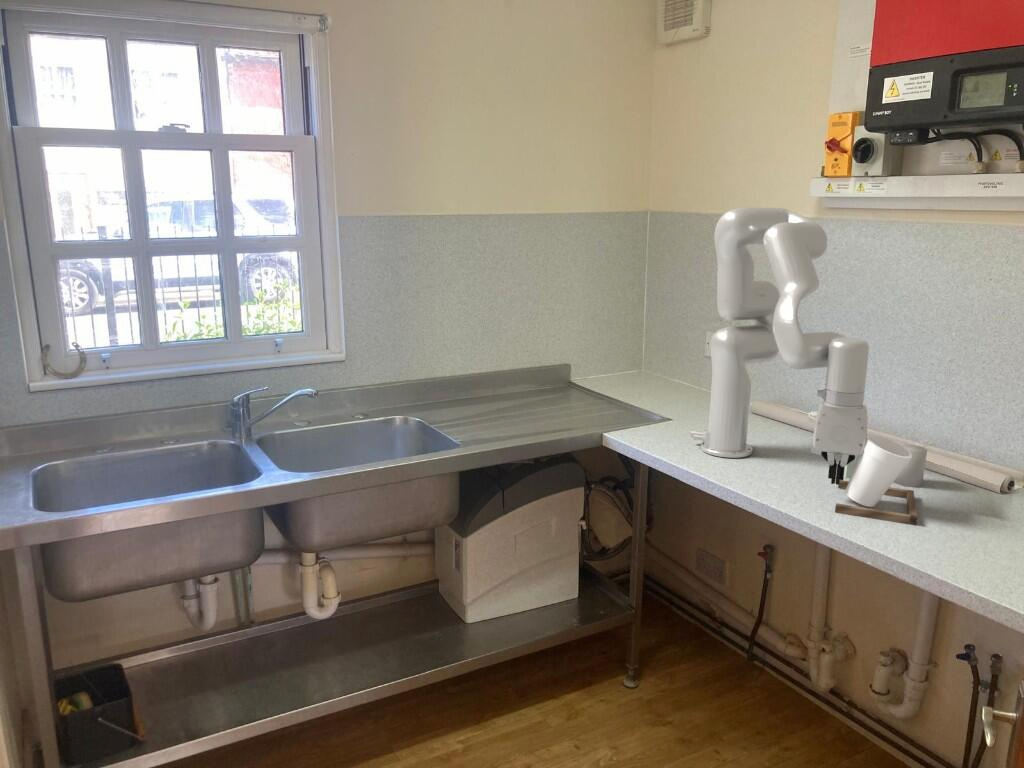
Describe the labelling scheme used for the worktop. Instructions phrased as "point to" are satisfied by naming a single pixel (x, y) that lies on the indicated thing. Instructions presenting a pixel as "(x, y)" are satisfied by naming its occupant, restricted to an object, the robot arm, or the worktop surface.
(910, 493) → the dark wooden bay
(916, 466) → the grey ceramic jar
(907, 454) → the foam cup
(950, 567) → the worktop surface
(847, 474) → the sage painted block
